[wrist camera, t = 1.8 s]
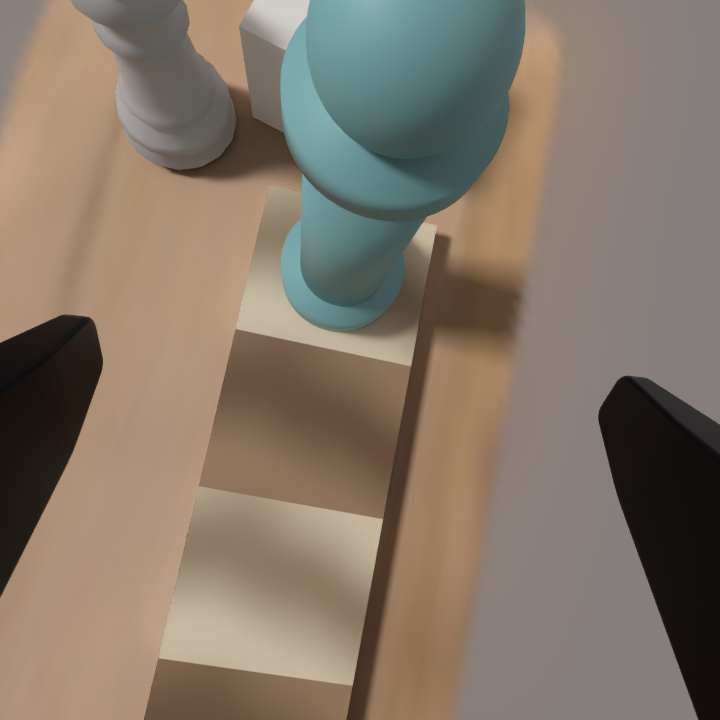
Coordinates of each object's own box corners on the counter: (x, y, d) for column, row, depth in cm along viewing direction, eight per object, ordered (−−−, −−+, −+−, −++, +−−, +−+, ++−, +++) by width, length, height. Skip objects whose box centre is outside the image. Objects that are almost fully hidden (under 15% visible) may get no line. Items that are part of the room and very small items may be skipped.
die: (358, 172, 21) (377, 97, 16) (251, 117, 21) (237, 23, 16) (406, 77, 22) (438, -22, 17) (303, 24, 22) (305, -94, 17)
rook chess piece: (214, 61, 21) (163, -155, 13) (254, 156, 21) (228, -6, 13) (109, 92, 20) (-12, -117, 12) (150, 190, 20) (53, 42, 12)
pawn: (353, 355, 19) (497, 206, 5) (258, 286, 19) (158, -48, 5) (418, 264, 20) (688, -66, 6) (326, 197, 20) (396, -296, 6)
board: (318, 847, 18) (319, 867, 17) (122, 827, 17) (113, 846, 16) (431, 232, 21) (436, 225, 20) (270, 193, 20) (269, 184, 20)
